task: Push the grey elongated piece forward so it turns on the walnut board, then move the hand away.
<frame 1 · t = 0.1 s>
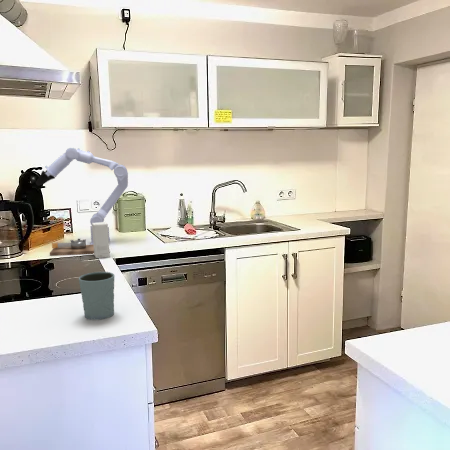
hand: (38, 184, 229), 32 cm above the worktop, tool tilted 50°, fingers open, 7 cm apart
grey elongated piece: (69, 244, 221), point 4 cm above the worktop, hinge at 0.0°
grey-green cup: (98, 315, 137), on the worktop
walnut board: (74, 251, 222), on the worktop
skincare box: (101, 256, 212), on the worktop
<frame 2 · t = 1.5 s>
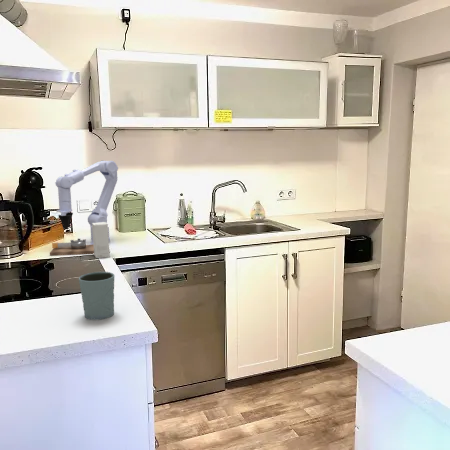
hand: (66, 228, 226), 10 cm above the worktop, tool pointing down, fingers open, 5 cm apart
nothing on the worktop moved.
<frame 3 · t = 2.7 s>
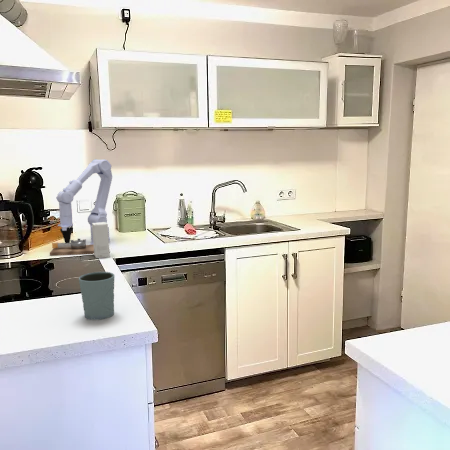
hand: (67, 242, 227), 3 cm above the worktop, tool pointing down, fingers closed
nothing on the worktop moved.
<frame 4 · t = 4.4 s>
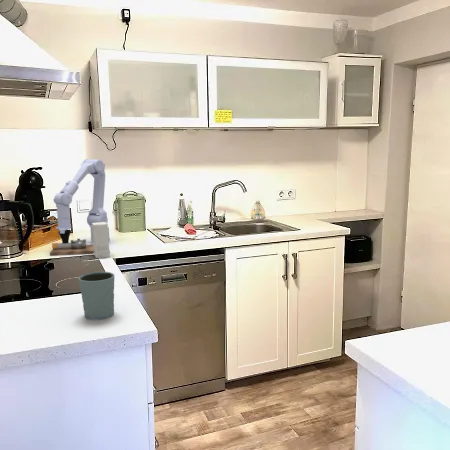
hand: (65, 245, 222), 3 cm above the worktop, tool pointing down, fingers closed, pressing on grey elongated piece
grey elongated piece: (69, 244, 221), point 4 cm above the worktop, hinge at 3.4°, touching gripper
everything else where it was.
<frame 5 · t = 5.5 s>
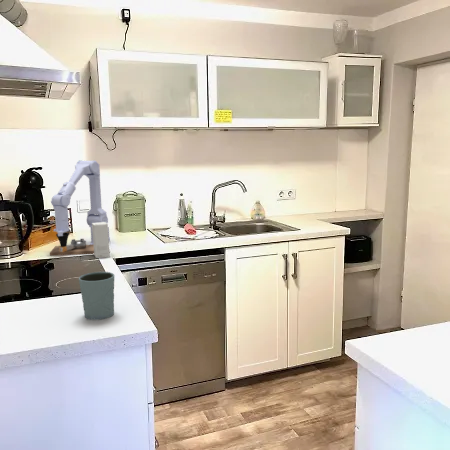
hand: (63, 248, 216), 3 cm above the worktop, tool pointing down, fingers closed, pressing on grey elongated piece
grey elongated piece: (72, 245, 218), point 4 cm above the worktop, hinge at 57.5°, touching gripper
everything else where it was.
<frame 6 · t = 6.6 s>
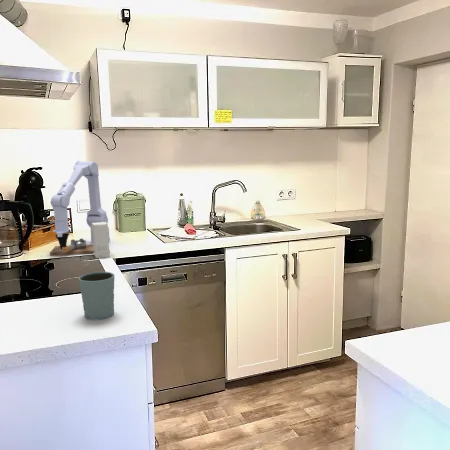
hand: (63, 249, 214), 3 cm above the worktop, tool pointing down, fingers closed, pressing on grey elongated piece
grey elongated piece: (73, 245, 218), point 4 cm above the worktop, hinge at 65.8°, touching gripper
everything else where it was.
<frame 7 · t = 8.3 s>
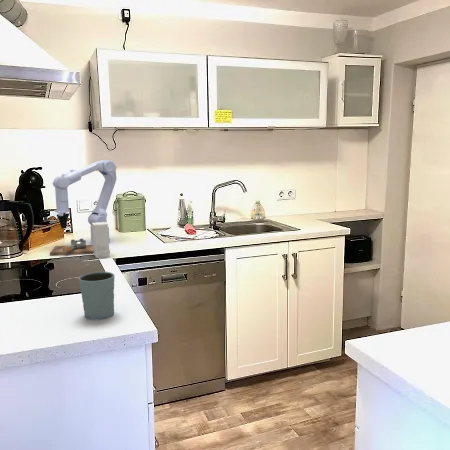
hand: (63, 228, 226), 10 cm above the worktop, tool pointing down, fingers closed
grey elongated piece: (73, 245, 218), point 4 cm above the worktop, hinge at 65.6°
everything else where it was.
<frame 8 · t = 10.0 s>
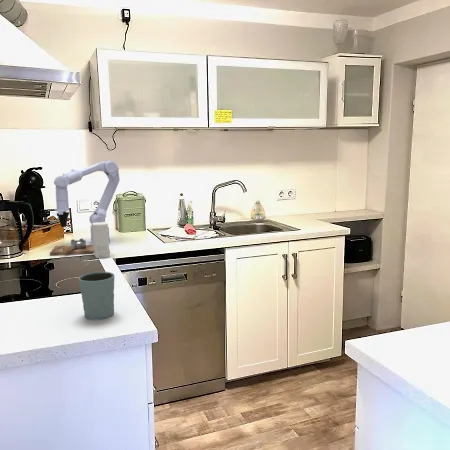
hand: (63, 226, 230), 10 cm above the worktop, tool pointing down, fingers closed
nothing on the worktop moved.
at the end: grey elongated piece at +66° (first picture: +0°); skincare box moved 0.2 cm from its start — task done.
